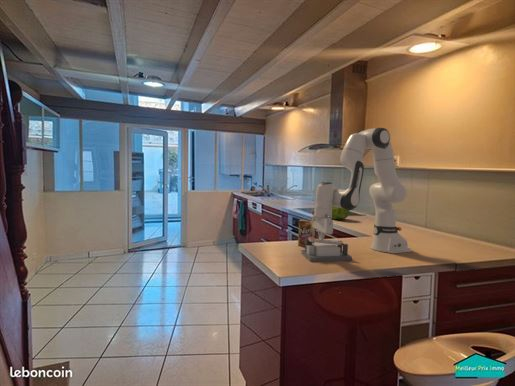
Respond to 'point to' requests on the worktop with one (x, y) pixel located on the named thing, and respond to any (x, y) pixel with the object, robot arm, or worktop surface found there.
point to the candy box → (305, 231)
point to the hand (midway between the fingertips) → (321, 239)
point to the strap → (325, 241)
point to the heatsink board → (327, 258)
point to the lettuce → (339, 213)
